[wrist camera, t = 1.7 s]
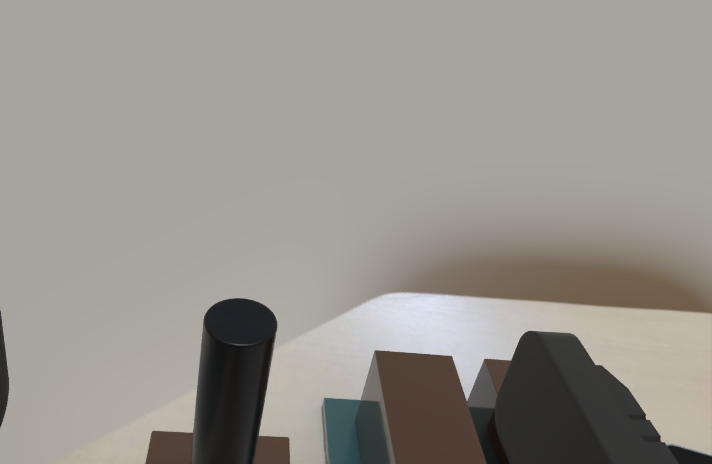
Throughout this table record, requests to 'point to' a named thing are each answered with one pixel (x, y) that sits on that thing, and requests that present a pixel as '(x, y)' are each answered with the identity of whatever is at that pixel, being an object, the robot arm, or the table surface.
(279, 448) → the knife block
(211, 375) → the knife
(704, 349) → the table surface
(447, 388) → the twin blocks on tray
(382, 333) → the table surface
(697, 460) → the smartphone
